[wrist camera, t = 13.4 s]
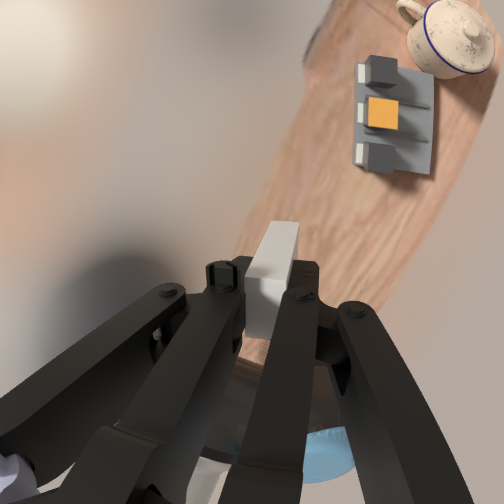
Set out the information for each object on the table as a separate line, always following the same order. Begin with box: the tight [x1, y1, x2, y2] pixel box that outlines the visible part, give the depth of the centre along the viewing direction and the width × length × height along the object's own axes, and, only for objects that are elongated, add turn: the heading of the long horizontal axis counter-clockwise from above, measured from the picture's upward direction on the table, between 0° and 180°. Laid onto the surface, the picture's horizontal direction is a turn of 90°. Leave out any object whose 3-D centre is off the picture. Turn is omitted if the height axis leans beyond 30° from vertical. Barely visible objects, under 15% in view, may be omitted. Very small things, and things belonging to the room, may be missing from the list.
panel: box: [352, 55, 434, 174], centre depth 31 cm, size 13×10×6 cm
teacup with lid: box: [396, 0, 495, 79], centre depth 23 cm, size 12×9×12 cm
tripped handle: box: [363, 97, 398, 130], centre depth 30 cm, size 3×3×5 cm
